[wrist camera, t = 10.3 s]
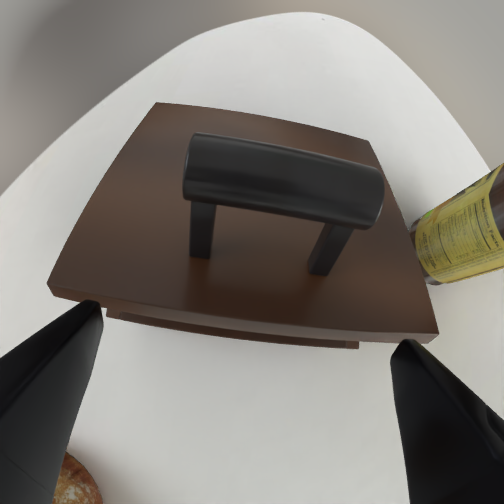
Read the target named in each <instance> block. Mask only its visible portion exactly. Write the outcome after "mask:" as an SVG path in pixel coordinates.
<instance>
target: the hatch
mask: <svg viewBox="0 0 504 504" xmlns="http://www.w3.org/2000/svg"><path fill="white" fill-rule="evenodd" d="M47 285H48V287H49V289H50V290H51V292H52V294H53V295H54V296H55V297H59V298H64V299H68V300H72V301H76V302H82V301H84V300H86V299H89V300H94V301H98V302H99V303H100V306H101V307H103V308H108V309H113V310H118V311H123V312H128V313H133V314H138V315H144V316H149V317H155V318H160V319H166V320H172V321H178V322H184V323H190V324H197V325H204V326H210V327H217V328H225V329H232V330H240V331H248V332H256V333H265V334H274V335H284V336H294V337H305V338H317V339H330V340H345V341H362V342H384V343H400V342H401V341H402V340H403V339H415V340H416V341H417V342H418V343H423V344H427V343H429V342H430V341H432V340H433V339H434V338H435V337H437V336H438V335H439V331H438V327H437V323H436V319H435V315H434V311H433V307H432V304H431V300H430V297H429V293H428V290H427V287H426V283H425V280H424V277H423V274H422V270H421V267H420V264H419V261H418V258H417V255H416V252H415V249H414V247H413V244H412V241H411V238H410V235H409V233H408V230H407V227H406V225H405V222H404V220H403V217H402V214H401V212H400V209H399V207H398V204H397V202H396V200H395V197H394V195H393V192H392V190H391V188H390V185H389V183H388V181H387V179H386V176H385V174H384V172H383V170H382V168H381V165H380V163H379V161H378V159H377V157H376V155H375V153H374V151H373V149H372V147H371V145H370V143H369V141H367V140H364V139H360V138H357V137H353V136H349V135H346V134H342V133H338V132H334V131H330V130H326V129H322V128H318V127H314V126H310V125H305V124H301V123H296V122H291V121H287V120H282V119H277V118H272V117H266V116H261V115H255V114H249V113H243V112H237V111H230V110H223V109H216V108H209V107H200V106H192V105H182V104H171V103H159V102H156V103H155V104H154V106H153V107H152V108H151V109H150V111H149V112H148V113H147V115H146V116H145V117H144V119H143V120H142V121H141V123H140V124H139V125H138V127H137V128H136V129H135V131H134V132H133V133H132V135H131V136H130V138H129V139H128V141H127V142H126V143H125V145H124V146H123V148H122V149H121V151H120V152H119V154H118V155H117V157H116V158H115V160H114V161H113V163H112V164H111V166H110V167H109V169H108V170H107V172H106V173H105V175H104V177H103V178H102V180H101V181H100V183H99V185H98V186H97V188H96V189H95V191H94V193H93V194H92V196H91V198H90V200H89V201H88V203H87V205H86V206H85V208H84V210H83V212H82V213H81V215H80V217H79V219H78V221H77V222H76V224H75V226H74V228H73V230H72V232H71V234H70V236H69V237H68V239H67V241H66V243H65V245H64V247H63V249H62V251H61V253H60V255H59V257H58V259H57V261H56V264H55V266H54V268H53V270H52V272H51V274H50V276H49V279H48V281H47Z"/></svg>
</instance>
